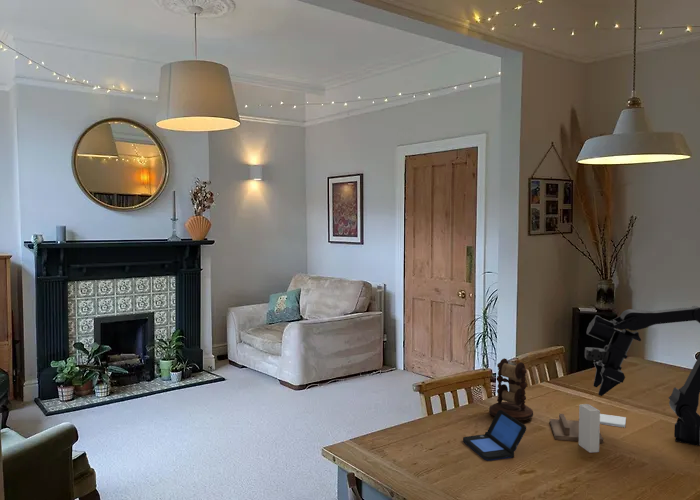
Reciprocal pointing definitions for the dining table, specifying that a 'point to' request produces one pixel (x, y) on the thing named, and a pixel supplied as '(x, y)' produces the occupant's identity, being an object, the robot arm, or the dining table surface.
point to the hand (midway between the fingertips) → (597, 391)
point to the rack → (566, 429)
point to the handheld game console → (498, 438)
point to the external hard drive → (612, 420)
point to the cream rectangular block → (589, 427)
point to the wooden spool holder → (511, 391)
